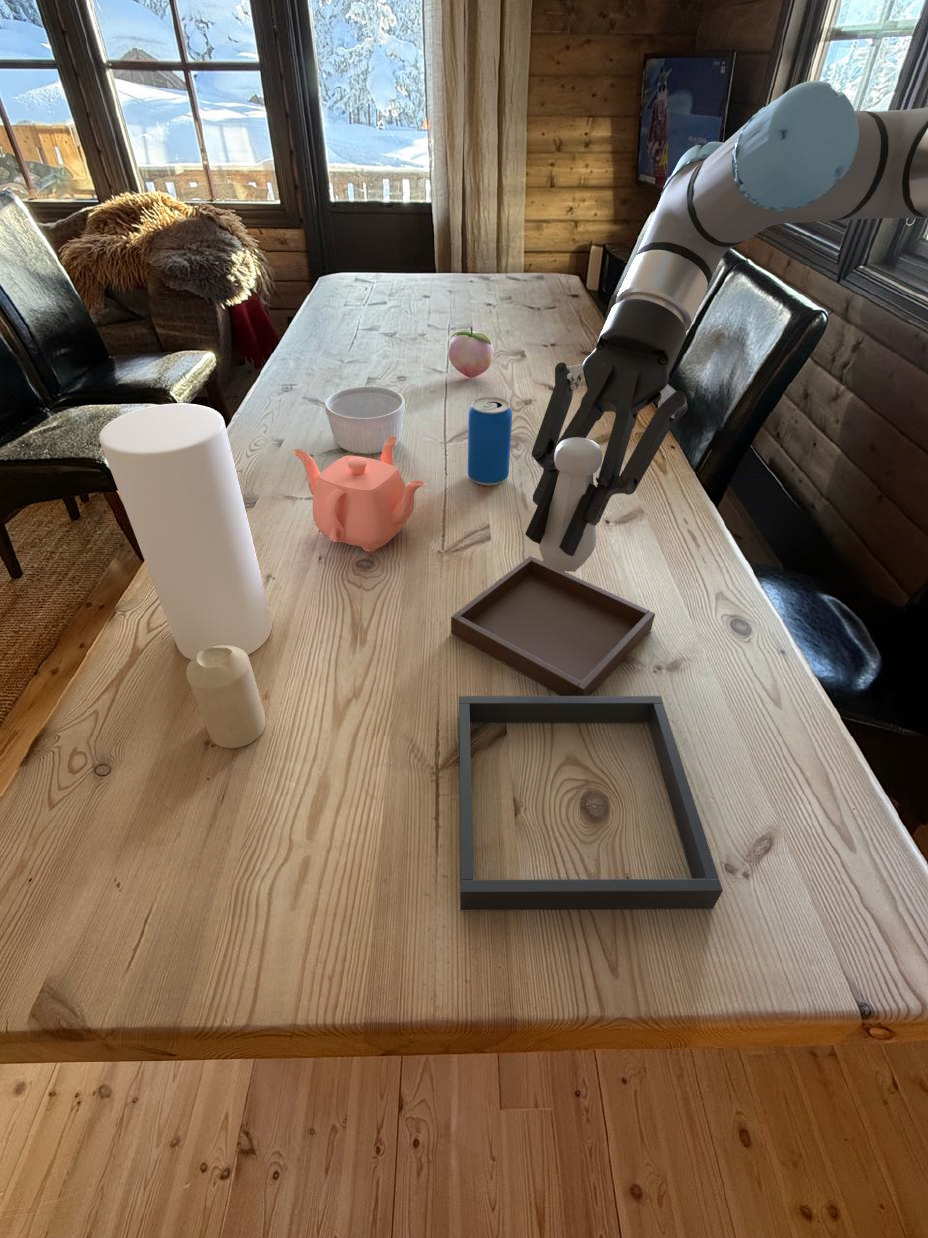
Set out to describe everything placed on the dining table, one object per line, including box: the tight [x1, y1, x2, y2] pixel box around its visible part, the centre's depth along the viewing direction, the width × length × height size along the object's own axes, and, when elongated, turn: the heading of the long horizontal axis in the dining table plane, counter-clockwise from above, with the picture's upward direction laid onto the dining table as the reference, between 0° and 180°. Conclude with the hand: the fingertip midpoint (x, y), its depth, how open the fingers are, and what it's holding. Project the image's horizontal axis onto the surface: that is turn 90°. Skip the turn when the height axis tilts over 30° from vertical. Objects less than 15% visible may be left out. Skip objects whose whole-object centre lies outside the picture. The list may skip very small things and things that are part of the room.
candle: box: [185, 645, 267, 749], centre depth 62 cm, size 6×6×10 cm
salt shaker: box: [538, 437, 603, 572], centre depth 64 cm, size 6×6×13 cm
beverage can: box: [467, 396, 513, 486], centre depth 100 cm, size 6×6×12 cm
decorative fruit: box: [447, 326, 494, 379], centre depth 133 cm, size 9×8×10 cm
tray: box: [450, 555, 656, 696], centre depth 76 cm, size 18×16×3 cm
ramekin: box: [324, 385, 406, 455], centre depth 111 cm, size 13×13×7 cm
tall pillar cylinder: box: [98, 403, 273, 661], centre depth 68 cm, size 11×11×25 cm
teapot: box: [292, 437, 427, 552], centre depth 88 cm, size 14×14×11 cm
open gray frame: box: [458, 695, 724, 911], centre depth 58 cm, size 20×20×3 cm
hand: (549, 545), depth 63 cm, fingers closed on salt shaker, 3 cm apart
